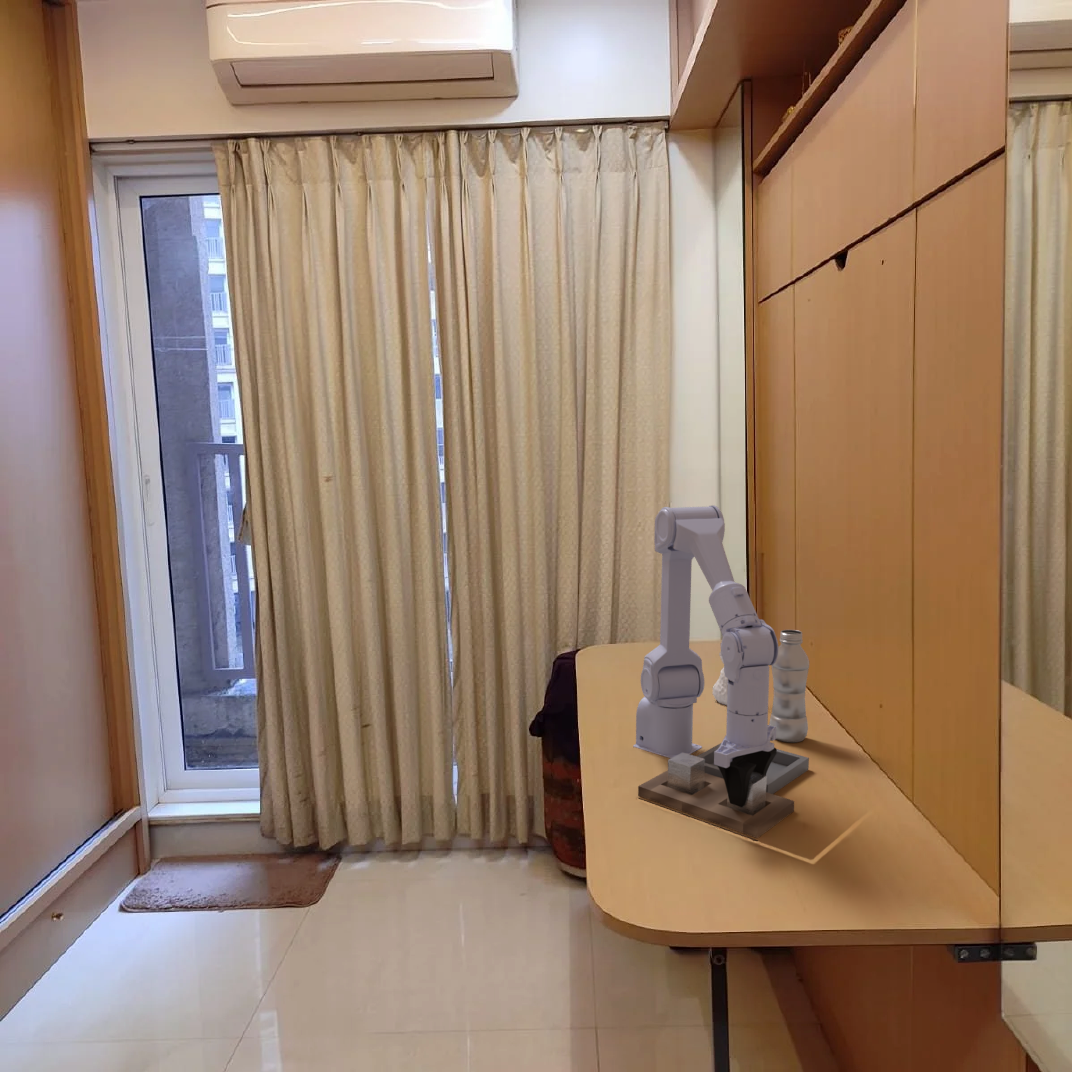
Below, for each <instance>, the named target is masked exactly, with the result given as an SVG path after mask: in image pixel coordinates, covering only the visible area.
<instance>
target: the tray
mask: <svg viewBox="0 0 1072 1072" xmlns="http://www.w3.org/2000/svg"><path fill="white" fill-rule="evenodd" d="M721 743H722V742H720V743H718V744H717V745H715V746H713V747H710V748H709V749H707V750H706V751H703V752H702V753H700V754H697V755H696V756H697V757H700V758H703V759H705V773H707V774H710V775H713V776H716V777H720V778H723V776H722V774H721V771H720V769H719V768H718V766H717V765H714V751H716V750H717V749H718V748H719V747H720V745H721ZM776 749H777V754H776V755H775V757H774V758H773V760H772V762H771V764H770V766H769V768H768V771H767V773H766V776H767V782H766V792H767V793H770V794H774V795H775V794H776V793H777V792H778V791H780V790H781V789H782V788H784V787H785V786H787V785H788V784H789V783H791V782H793V781H794V780H795V779H796V780H797V778H799V777H801V775H803V774H804V773H806V772H808V771H809V768H810V767H809V762H810V761H809V760H810V758H809V757H807V756H804V755H801V754H800V755H799V754H797V753H793V752H789V751H785V750H782V749H779V748H776ZM723 779H724V778H723Z"/></svg>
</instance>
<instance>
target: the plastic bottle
mask: <svg viewBox="0 0 1072 1072" xmlns="http://www.w3.org/2000/svg"><path fill="white" fill-rule="evenodd" d="M779 635H780V637H779V642H780V645H778V648H779V652H778V658H777V660H776V662H775V663H774V664H773V665H771V673H772V682H773V685H772V687H773V700H772V708H771V709H772V710H771V713H770V719H769V723H768V725H771V726H775V727H776V739H775V740H776V741H779V742H782V743H799V742H802V741H804V740H805V738H806V737H807V735H808V731H809V725H808V717H807V713H806V712H807V711H806V690H807V689H806V688H807V679H808V675H809V668H810V660H809V656H808V655H807V653H806V651H805V650H804V648H803V647H802V645H801V644H803V631H800V630H798V629H782V630H780V634H779Z"/></svg>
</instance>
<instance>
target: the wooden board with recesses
mask: <svg viewBox="0 0 1072 1072" xmlns="http://www.w3.org/2000/svg"><path fill="white" fill-rule="evenodd" d="M637 788H638V791H637V793H638V795H637V796H638V797H637V799H638V800H641V801H644V802H647V803H649V804H653V805H655V806H659V807H661V808H664V809H666V810H669V811H672V812H674V813H678V814H680V815H683V816H686V817H689V818H691V819H693V820H697V821H699V822H703V823H706V824H708V825H710V826H714V827H717V828H719V829H722V830H725V831H727V832H730V833H733V834H736V835H739V836H741V837H744V838H747V839H749V840H752V841H755V842H759V840H757V839H759V838H760V837H761V836H762V835H764V834H765V833H766V832H768V831H769V830H770V829H772V828H773V827H775V826H776V825H777V824H779V823H780V822H781V821H782V820H784V819H785V818H786V817H787V818H788V817H789V816H790V815H791V814H792V813H793V812H794V811H795V800H793V799H789V798H786V797H783V796H779V795H777V794H775V793H774V794H770V793H767V792H766V803H765V808H763V809H762V810H760V811H759V812H758V813H756V814H755V815H753V816H752V815H749V814H746V813H743V812H740V811H737V810H734V809H731V808H728V807H727V789H726V785H725V781H724V779H723V778H720V777H716V776H713V775H710V774H707V773H705V775H704V788H703V789H701V790H700V791H698V792H696V793H695V794H693V795H690V794H687V793H684V792H681V791H678V790H675V789H672V788H669V787H668V769H667V770H665V771H663V772H662V773H660V774H658V775H656V776H654V777H652V778H651V779H648V780H647V781H645V782H643V783H641V784H639V785H638V787H637ZM646 799H647V800H646ZM649 800H650V801H649ZM651 801H652V802H651ZM660 804H661V805H660ZM663 805H664V806H663ZM665 806H666V807H665ZM677 810H678V811H677ZM680 811H681V812H680ZM682 812H683V813H682ZM691 815H692V816H691ZM710 822H711V823H710ZM716 824H717V825H716ZM719 825H720V826H719ZM722 826H723V827H722ZM724 827H725V828H724ZM730 829H731V830H730ZM736 831H737V832H736ZM749 836H750V837H749ZM753 837H754V838H753ZM755 838H756V839H755Z"/></svg>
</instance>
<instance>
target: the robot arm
mask: <svg viewBox="0 0 1072 1072" xmlns="http://www.w3.org/2000/svg"><path fill="white" fill-rule="evenodd" d="M725 526H726V523H725V518H724V515H723V513H722V510H721V509H720V508H719V507H718V506H716V505H715V504H714V505H713V504H712V505H708V506H707V505H706V506H683V507H681V506H680V507H679V506H678V507H669V506H663V507H661V508H660V510H659V512H658V513H657V514H656V515H655V518H654V551H655V552H656V553H658V554H661V583H660V585H661V591H660V592H661V593H660V629H659V630H660V632H659V635H660V636H659V638H660V640H659V642H660V643H659V645H658V646H656V647H655V648H654V649H652V650H651V651H650V652H648V653H647V654H645V656H644V657H643V658H644V659H643V666H642V671H641V672H640V686H641V687H640V688H641V691H642V694H643V697H642V698H641V700H640V701H639V703H638V704H637V705H638V706H637V708H636V713H635V723H636V724H635V744H633V748H636V749H639V750H643V751H646V752H648V753H649V752H650V753H653V754H656V755H658V756H661V757H665V758H668V759H671V758H673V757H674V756H676V755H678V754H680V753H682V752H683V753H687V754H690V755H692V754H693V753H695V752H697V751H698V750H700V749H703V746H702V745H699V744H697V743H693V721H694V720H693V719H694V704H696V703H698V700H697V699H698V698H700V697H701V695H702V693H703V692H704V689H705V675H704V671H703V661H702V660H703V659H702V658H701V657H700V655H699V654H698V653H697V652H695V651H694V650H693V649H691V648H690V631H691V598H692V597H691V595H692V594H691V593H692V592H691V591H692V561H693V559H695V560H696V562H697V564H698V566H699V568H700V569H701V572H702V573H703V576H704V577H705V579H706V581H707V583H708V585H709V586H710V589H711V593H710V594H709V597H708V604H709V605H710V609H711V611H712V613H713V616H714V618H715V621H716V623H717V625H718V628H719V630H720V633H721V636H722V638H721V642H720V652H721V654H722V658H723V661H724V664H723V667H724V673H725V677H727V678H728V689H727V705H726V735H725V736H724V738H723V740H722V742H720V743H721V745H720V747H719V748H718V749H717V750H716V751H714V765H717V766H718V768H719V769H720V771H721V774H722V776H723V778H724V781H725V785H726V789H727V793H728V797H729V801H730V803H731V804H734V805H736V806H739V807H743V806H744V805H745V802H746V798H747V792H748V785H749V781H750V777H751V775H752V772H753V771H754V772H757V773H760V774H763V775H766V773H767V771H768V768H769V766H770V764H771V762H772V760H773V758H774V757H775V755H776V754H777V749H778V748H776V747H775V743H774V742H773V741H775V740H777V739H776V727H775V726H771V725H769V723H768V722H769V718H768V717H769V689H770V688H769V687H770V685H769V684H770V666H772V665H773V664H774V663H775V662H776V660H777V658H778V652H779V648H778V647H779V642H778V638H777V636H776V635H777V634H776V632H775V630H774V628H773V627H771V626H770V625H769V624H767V623H766V621H765V620H764V619H760V618H759V615H758V614H757V611H756V609H755V607H754V605H753V602H752V600H751V598H750V596H749V593H748V591H747V589H746V587H745V586H744V584H741V583H739V582H735V578H734V575H733V573H732V569H731V567H730V563H729V560H728V557H727V554H726V551H725V547H724V546H723V541H724V538H725V530H726V529H725ZM771 741H772V742H771Z"/></svg>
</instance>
